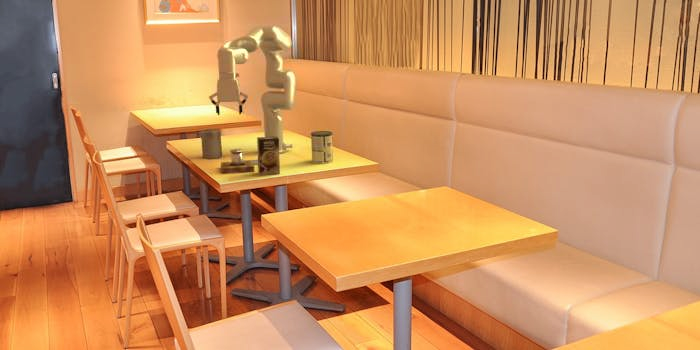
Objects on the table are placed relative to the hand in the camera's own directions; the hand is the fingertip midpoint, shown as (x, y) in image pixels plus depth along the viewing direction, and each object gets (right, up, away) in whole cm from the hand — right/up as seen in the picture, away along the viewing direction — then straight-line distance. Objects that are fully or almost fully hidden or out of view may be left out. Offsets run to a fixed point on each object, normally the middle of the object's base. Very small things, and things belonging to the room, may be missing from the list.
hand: (229, 114), depth 289 cm
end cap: (+3, -25, +3) cm, 25 cm away
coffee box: (+19, -27, -5) cm, 33 cm away
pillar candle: (-15, -19, +32) cm, 40 cm away
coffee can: (+41, -21, +19) cm, 50 cm away
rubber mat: (+7, -22, +17) cm, 29 cm away
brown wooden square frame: (+3, -25, +3) cm, 25 cm away
